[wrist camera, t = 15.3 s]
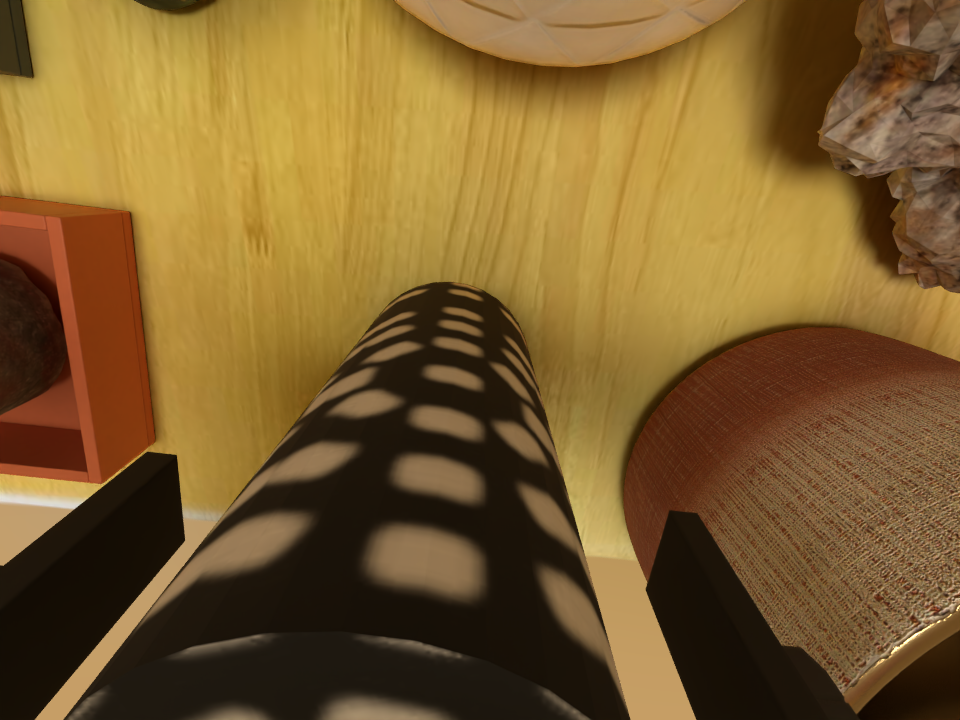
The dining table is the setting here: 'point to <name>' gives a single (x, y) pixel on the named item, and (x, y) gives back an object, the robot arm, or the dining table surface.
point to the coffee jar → (166, 3)
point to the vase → (568, 26)
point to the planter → (825, 503)
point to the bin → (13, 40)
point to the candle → (26, 340)
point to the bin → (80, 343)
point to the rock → (907, 127)
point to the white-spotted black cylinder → (388, 553)
